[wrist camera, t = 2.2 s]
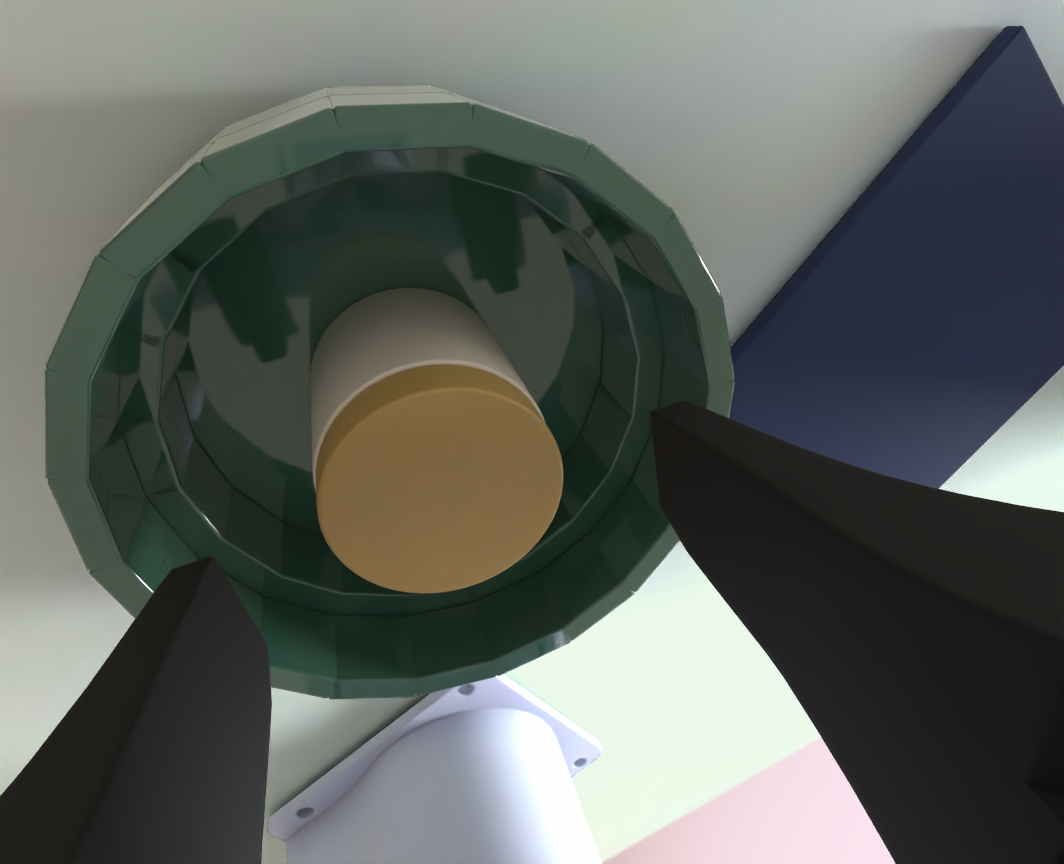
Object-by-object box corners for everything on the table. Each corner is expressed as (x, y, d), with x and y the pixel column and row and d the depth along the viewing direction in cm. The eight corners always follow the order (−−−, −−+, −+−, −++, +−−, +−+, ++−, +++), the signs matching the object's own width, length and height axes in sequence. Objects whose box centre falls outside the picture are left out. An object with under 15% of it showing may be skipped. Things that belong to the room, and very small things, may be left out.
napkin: (868, 540, 25) (878, 548, 24) (679, 407, 19) (687, 415, 19) (1136, 274, 22) (1152, 279, 21) (1005, 24, 16) (1024, 24, 16)
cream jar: (401, 488, 17) (433, 632, 13) (266, 376, 15) (253, 509, 11) (534, 379, 17) (610, 493, 13) (418, 245, 14) (465, 331, 10)
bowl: (389, 631, 20) (409, 766, 16) (-30, 360, 13) (-158, 486, 10) (714, 375, 19) (815, 458, 15) (435, -69, 12) (493, -114, 8)
